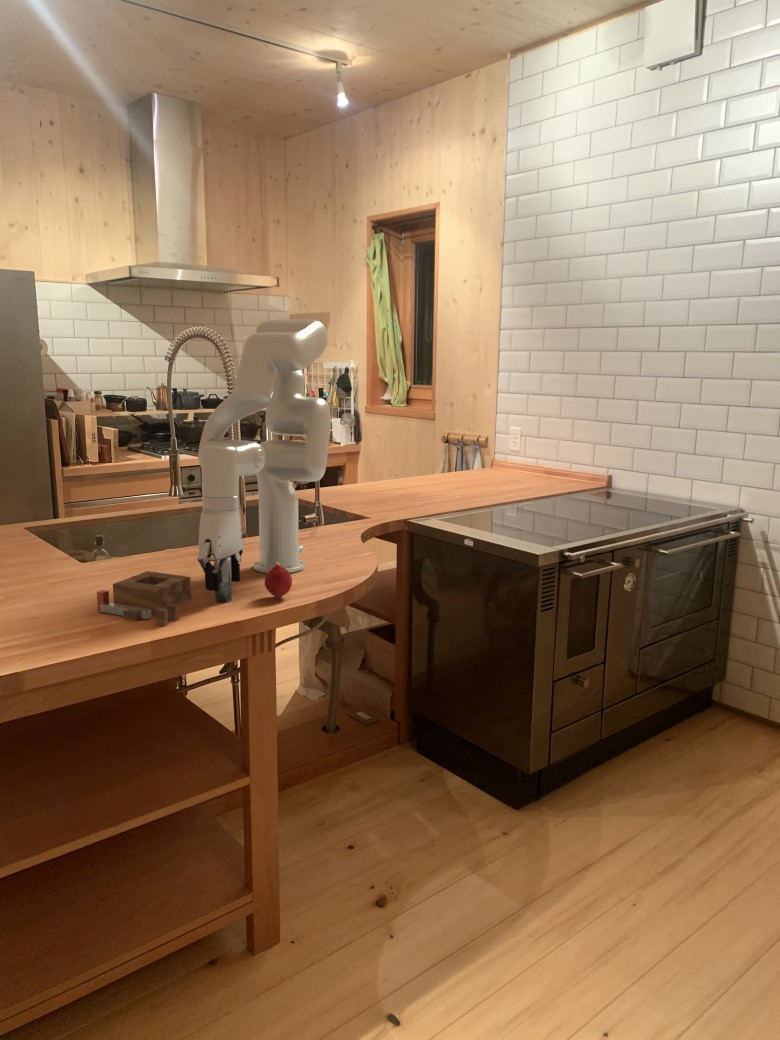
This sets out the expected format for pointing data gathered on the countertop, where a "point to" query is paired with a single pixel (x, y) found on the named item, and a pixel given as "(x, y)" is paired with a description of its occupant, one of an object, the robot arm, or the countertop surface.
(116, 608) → the lock pin
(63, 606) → the countertop surface
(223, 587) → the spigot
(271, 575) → the onion
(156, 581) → the dock
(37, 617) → the countertop surface
